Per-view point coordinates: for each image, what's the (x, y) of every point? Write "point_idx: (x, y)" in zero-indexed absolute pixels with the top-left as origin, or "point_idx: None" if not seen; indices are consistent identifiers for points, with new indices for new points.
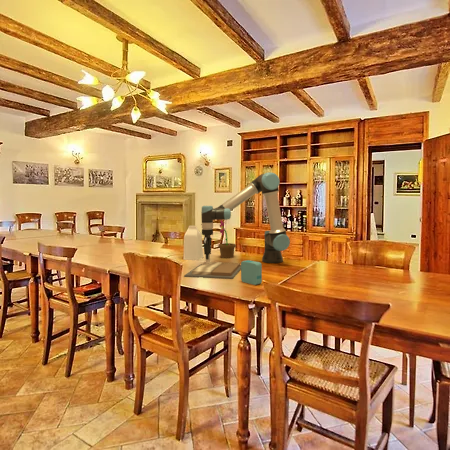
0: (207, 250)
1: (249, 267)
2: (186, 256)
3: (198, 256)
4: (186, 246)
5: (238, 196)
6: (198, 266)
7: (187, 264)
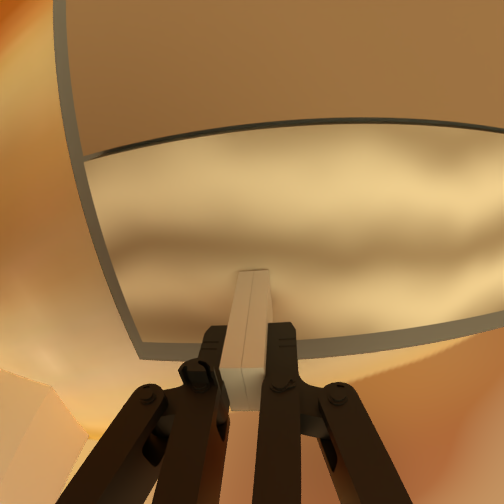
0: (382, 445)
1: None
2: (75, 440)
3: (34, 399)
4: (55, 481)
5: None
6: None
7: None
